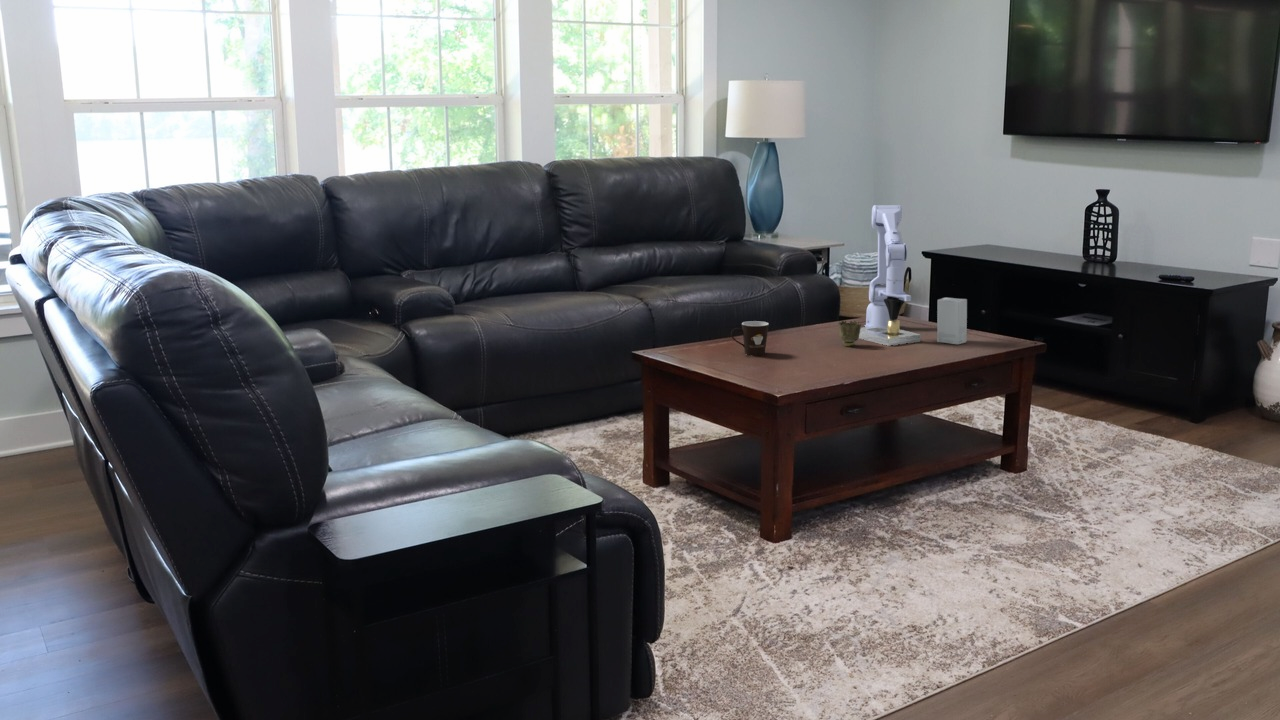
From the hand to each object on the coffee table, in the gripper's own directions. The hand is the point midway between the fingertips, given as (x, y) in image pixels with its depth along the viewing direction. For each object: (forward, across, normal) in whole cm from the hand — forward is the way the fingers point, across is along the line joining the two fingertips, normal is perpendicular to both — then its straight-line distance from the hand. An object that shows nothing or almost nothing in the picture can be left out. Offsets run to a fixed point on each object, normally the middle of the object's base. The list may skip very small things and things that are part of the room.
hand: (893, 319), depth 370 cm
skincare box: (+8, -11, -16) cm, 21 cm away
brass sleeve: (+7, 0, 0) cm, 7 cm away
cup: (+8, 0, +18) cm, 20 cm away
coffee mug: (+8, +6, +53) cm, 54 cm away
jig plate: (+7, +4, 0) cm, 8 cm away
